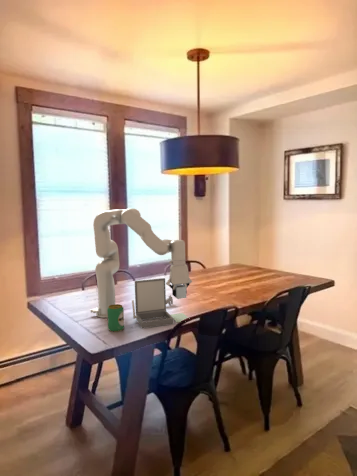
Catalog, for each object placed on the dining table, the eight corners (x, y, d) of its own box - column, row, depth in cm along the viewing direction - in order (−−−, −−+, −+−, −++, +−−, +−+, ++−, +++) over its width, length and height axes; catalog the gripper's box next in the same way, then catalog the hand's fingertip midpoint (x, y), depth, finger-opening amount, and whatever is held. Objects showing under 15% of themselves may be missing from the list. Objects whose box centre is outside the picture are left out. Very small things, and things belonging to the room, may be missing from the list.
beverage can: (119, 332, 178) (118, 309, 177) (105, 331, 181) (104, 307, 180) (127, 327, 185) (126, 304, 184) (113, 325, 188) (112, 303, 187)
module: (177, 299, 192) (177, 287, 192) (173, 295, 200) (172, 284, 199) (186, 297, 194) (186, 286, 193) (181, 294, 201) (181, 283, 201)
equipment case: (138, 328, 183) (136, 287, 180) (132, 319, 197) (130, 281, 195) (173, 323, 189) (172, 283, 186) (165, 315, 203) (164, 278, 201)
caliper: (171, 304, 225) (171, 294, 225) (172, 304, 224) (172, 295, 224) (147, 312, 210) (147, 302, 209) (149, 313, 209) (148, 302, 209)
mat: (176, 322, 191) (176, 321, 191) (169, 315, 203) (169, 314, 203) (190, 320, 193) (190, 319, 193) (182, 313, 205) (182, 313, 205)
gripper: (165, 265, 189) (166, 299, 191) (195, 262, 194) (196, 295, 196) (161, 263, 196) (162, 295, 198) (190, 260, 201) (191, 292, 203)
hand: (179, 295), depth 197 cm, fingers closed on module, 5 cm apart
